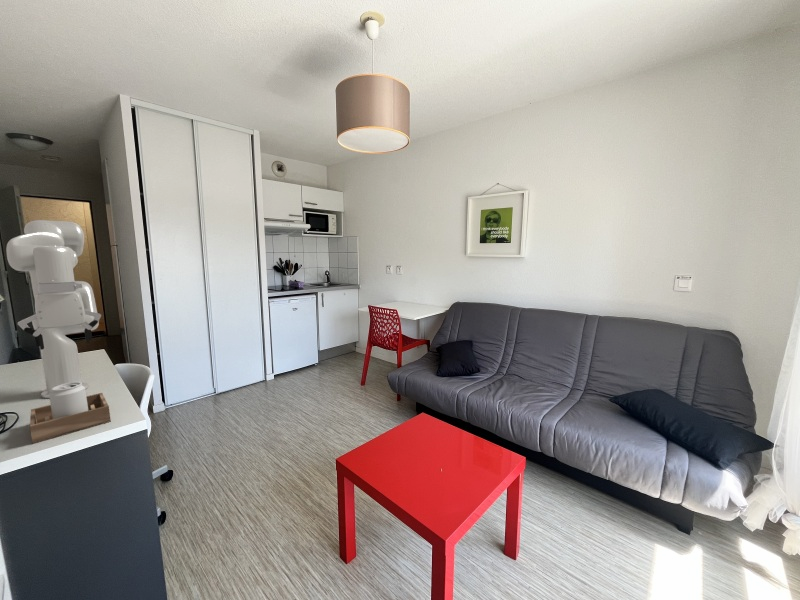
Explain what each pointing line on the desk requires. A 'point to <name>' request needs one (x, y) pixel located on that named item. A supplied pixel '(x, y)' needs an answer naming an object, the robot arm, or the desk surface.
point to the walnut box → (68, 419)
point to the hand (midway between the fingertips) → (65, 345)
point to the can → (68, 400)
